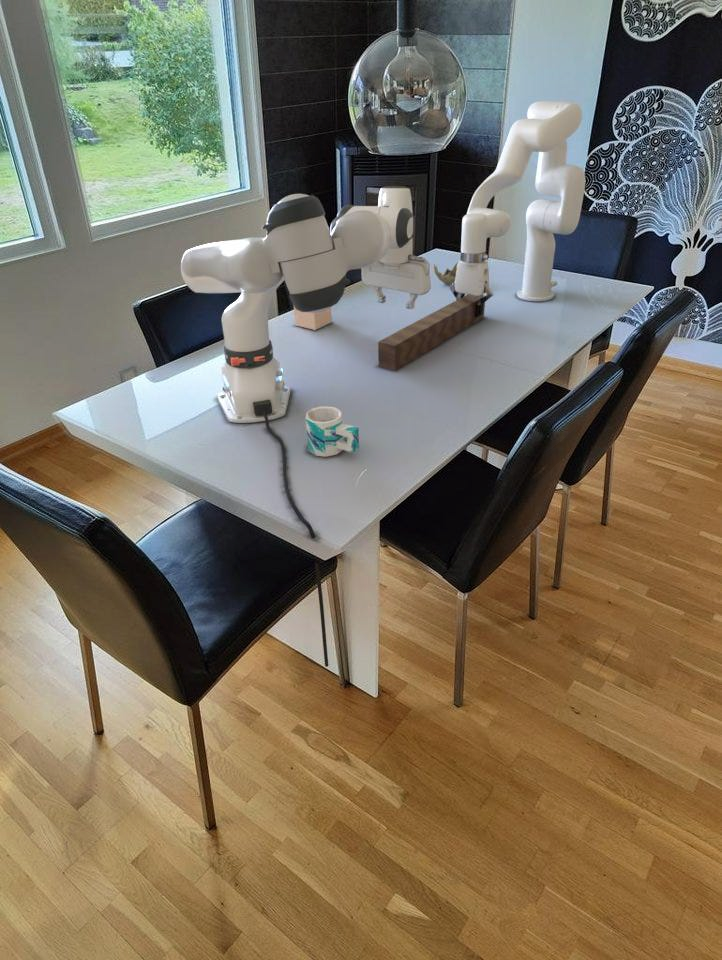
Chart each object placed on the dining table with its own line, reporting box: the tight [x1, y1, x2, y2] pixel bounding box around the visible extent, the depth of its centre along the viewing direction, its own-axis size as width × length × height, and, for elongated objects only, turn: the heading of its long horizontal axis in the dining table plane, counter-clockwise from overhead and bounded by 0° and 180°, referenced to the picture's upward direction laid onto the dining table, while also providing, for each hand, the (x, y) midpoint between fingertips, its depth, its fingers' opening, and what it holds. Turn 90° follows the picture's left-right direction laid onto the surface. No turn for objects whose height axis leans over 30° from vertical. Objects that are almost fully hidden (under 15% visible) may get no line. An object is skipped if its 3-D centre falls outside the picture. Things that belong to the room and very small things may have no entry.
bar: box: [377, 294, 486, 371], centre depth 201 cm, size 50×6×7 cm, turn 142°
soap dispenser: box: [293, 306, 333, 331], centre depth 211 cm, size 13×9×22 cm
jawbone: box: [433, 260, 459, 286], centre depth 246 cm, size 9×15×10 cm
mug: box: [305, 405, 360, 458], centre depth 147 cm, size 8×12×8 cm
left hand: (395, 305), depth 180 cm, fingers open, 8 cm apart
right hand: (469, 313), depth 215 cm, fingers closed on bar, 5 cm apart
